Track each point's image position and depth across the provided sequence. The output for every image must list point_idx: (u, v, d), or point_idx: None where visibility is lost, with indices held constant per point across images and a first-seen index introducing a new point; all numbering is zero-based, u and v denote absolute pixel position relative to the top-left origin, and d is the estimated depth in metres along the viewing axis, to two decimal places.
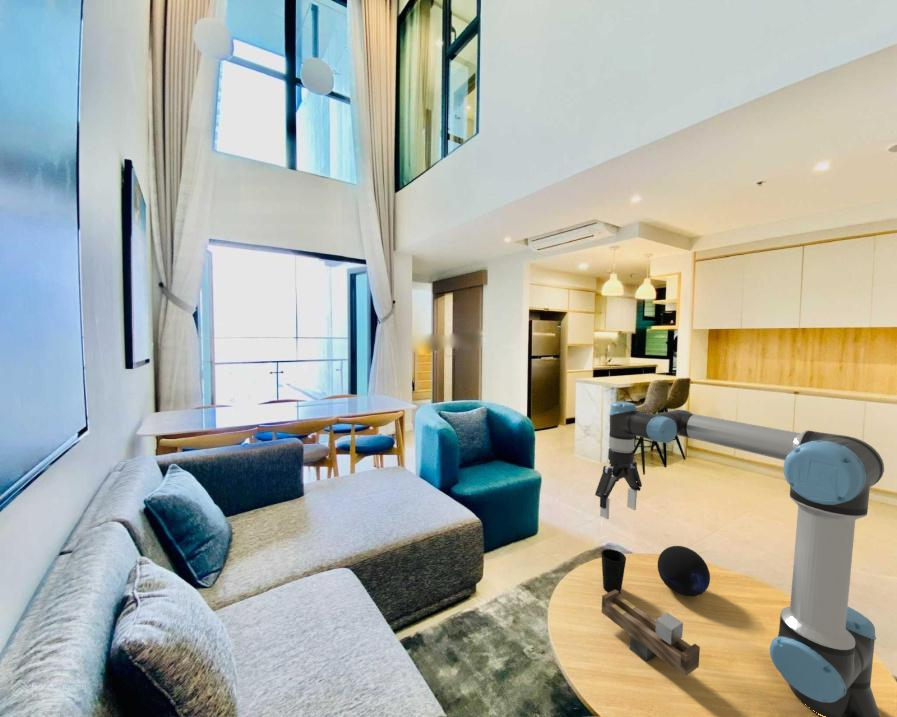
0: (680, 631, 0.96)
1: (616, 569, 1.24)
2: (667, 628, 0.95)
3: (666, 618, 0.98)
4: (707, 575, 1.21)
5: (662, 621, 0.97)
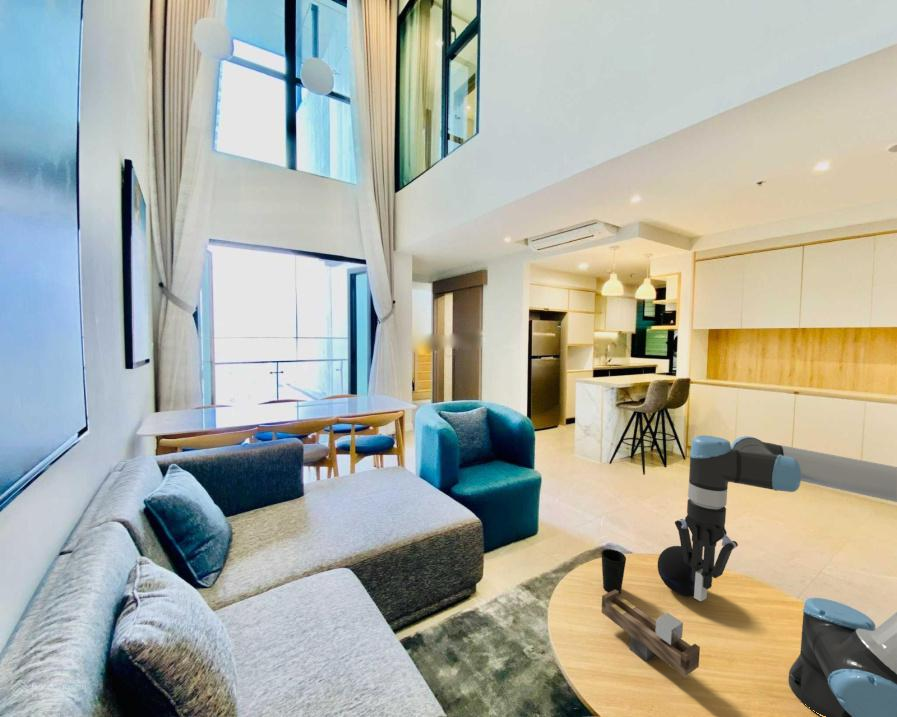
0: (680, 631, 0.96)
1: (616, 569, 1.24)
2: (667, 628, 0.95)
3: (666, 618, 0.98)
4: None
5: (662, 621, 0.97)
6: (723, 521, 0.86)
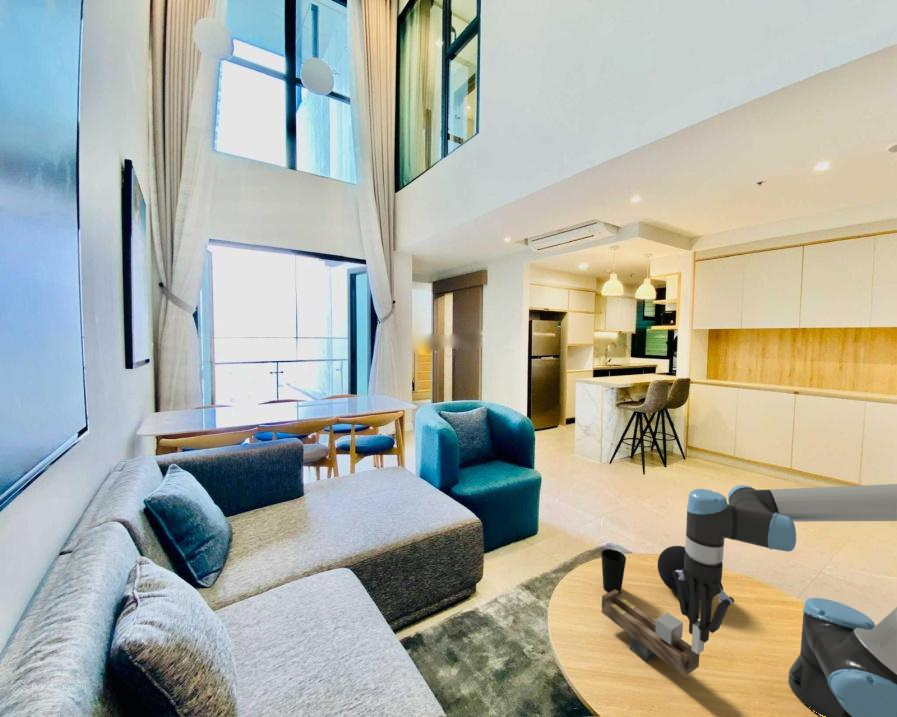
0: (680, 631, 0.96)
1: (616, 569, 1.24)
2: (667, 628, 0.95)
3: (666, 618, 0.98)
4: None
5: (662, 621, 0.97)
6: (720, 577, 0.86)
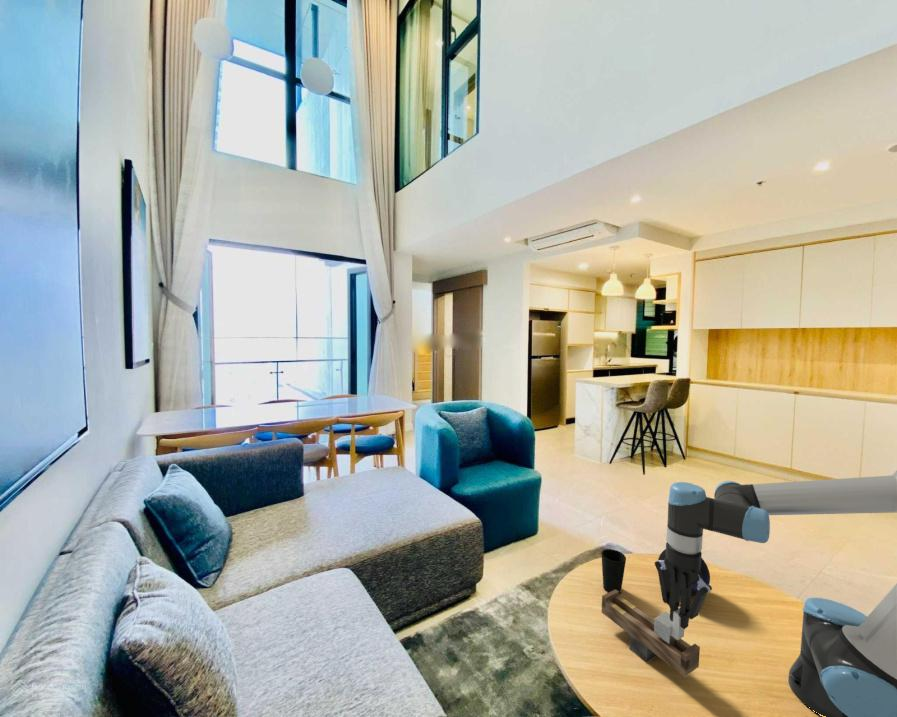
0: None
1: (616, 569, 1.24)
2: (665, 627, 0.95)
3: (664, 617, 0.98)
4: (707, 575, 1.21)
5: (660, 620, 0.97)
6: (698, 565, 0.90)
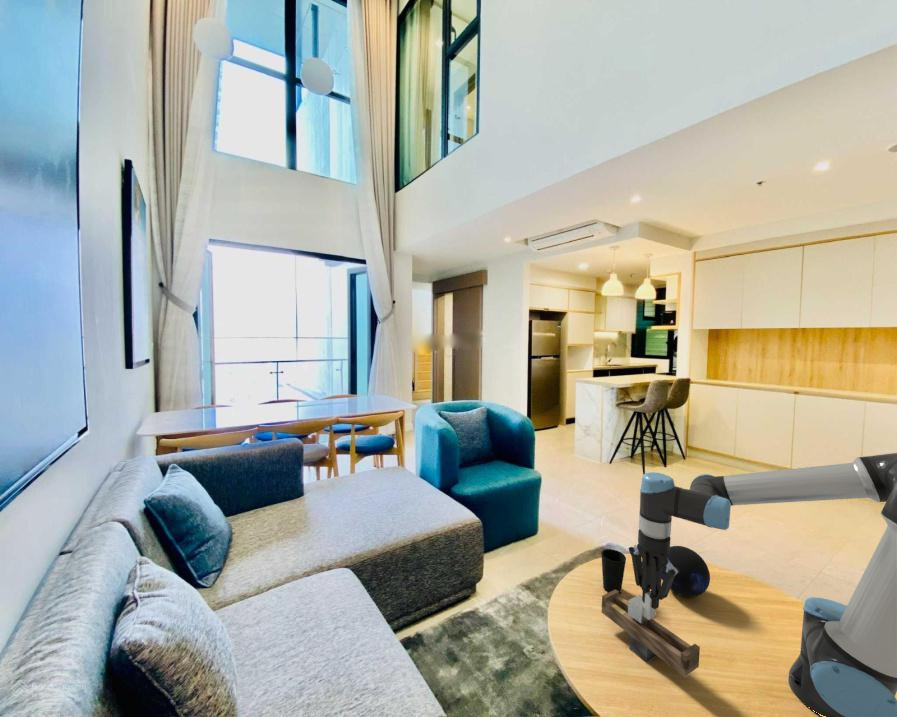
0: None
1: (616, 569, 1.24)
2: (638, 608, 1.02)
3: (638, 599, 1.05)
4: (707, 575, 1.21)
5: (634, 602, 1.04)
6: (667, 550, 0.97)
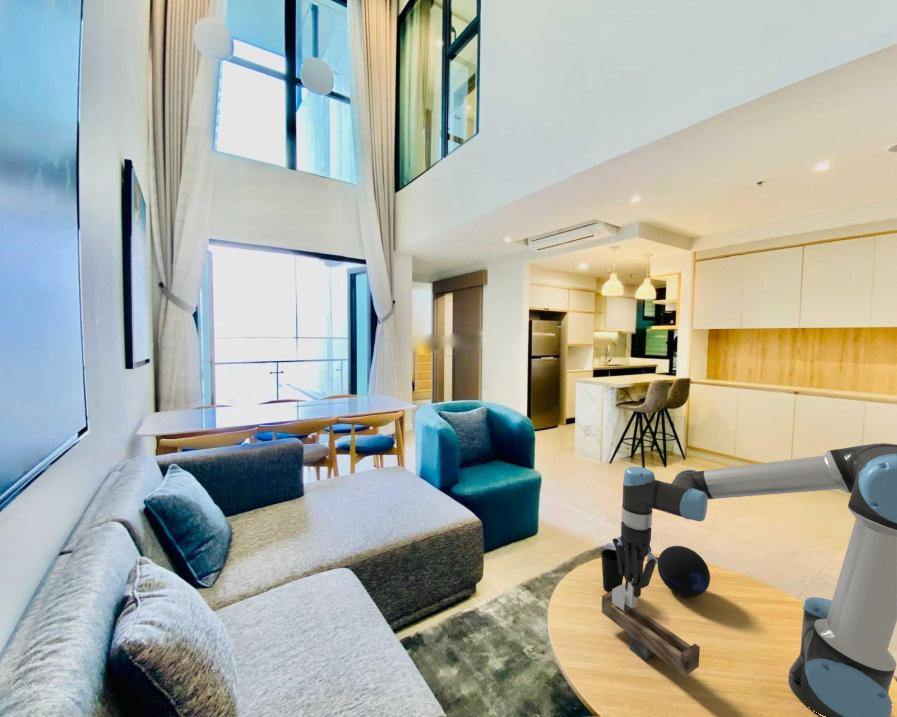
0: None
1: (616, 569, 1.24)
2: (621, 596, 1.06)
3: (621, 588, 1.09)
4: (707, 575, 1.21)
5: (617, 590, 1.08)
6: (648, 540, 1.02)
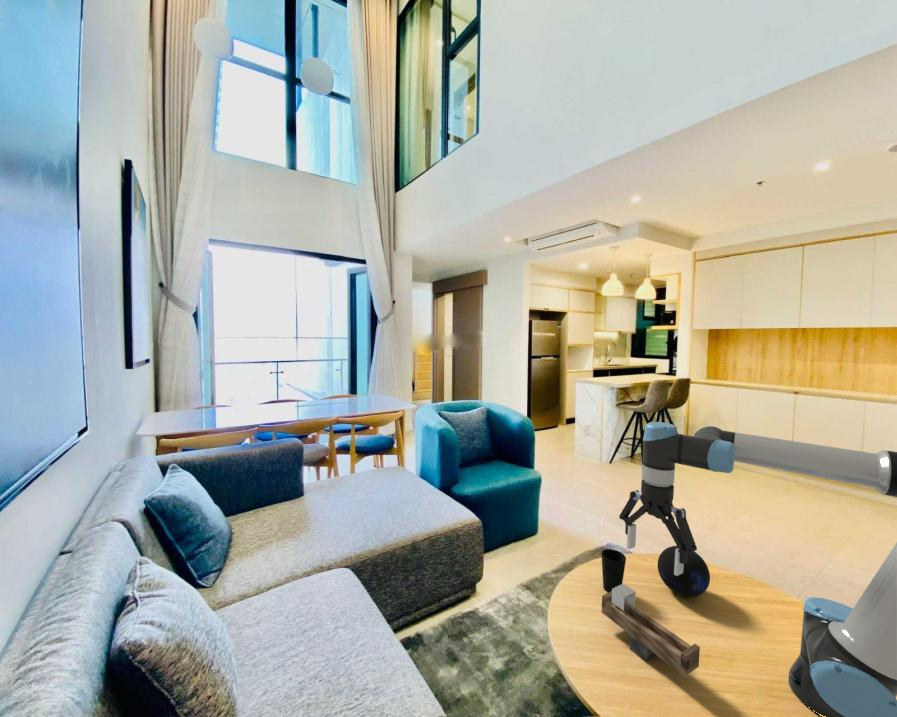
0: (632, 599, 1.07)
1: (616, 569, 1.24)
2: (621, 596, 1.06)
3: (621, 588, 1.09)
4: (707, 575, 1.21)
5: (617, 590, 1.08)
6: (671, 497, 0.96)
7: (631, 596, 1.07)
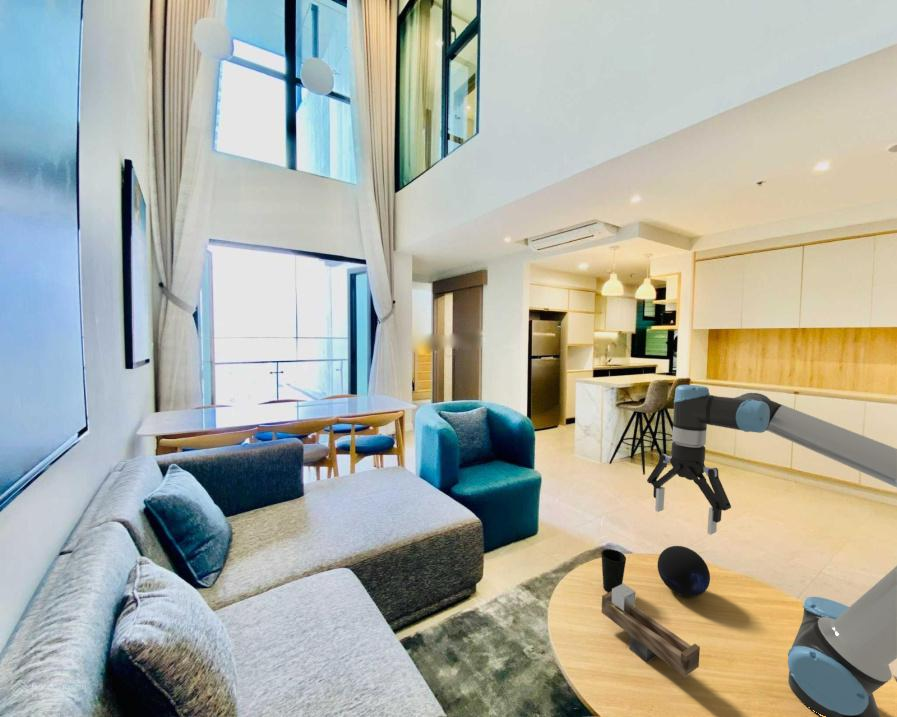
0: (632, 599, 1.07)
1: (616, 569, 1.24)
2: (621, 596, 1.06)
3: (621, 588, 1.09)
4: (707, 575, 1.21)
5: (617, 590, 1.08)
6: (702, 458, 0.97)
7: (631, 596, 1.07)
